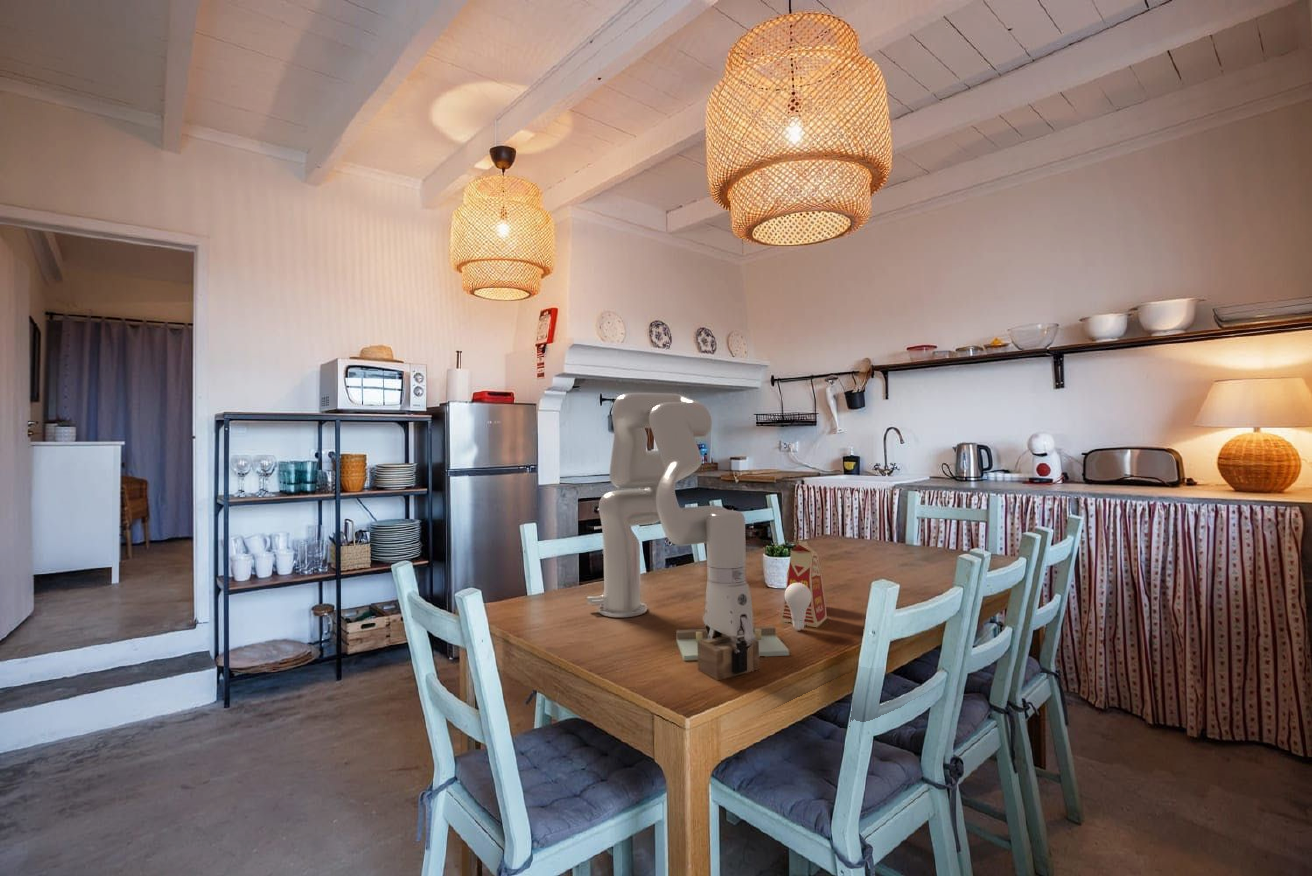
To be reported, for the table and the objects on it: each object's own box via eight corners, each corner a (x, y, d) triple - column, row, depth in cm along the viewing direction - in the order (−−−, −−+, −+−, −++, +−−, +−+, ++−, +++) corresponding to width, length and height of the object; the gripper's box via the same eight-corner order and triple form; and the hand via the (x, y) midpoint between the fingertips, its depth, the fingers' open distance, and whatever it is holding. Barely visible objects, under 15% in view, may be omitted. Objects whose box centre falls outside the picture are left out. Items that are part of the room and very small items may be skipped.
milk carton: (816, 627, 147) (815, 542, 147) (779, 621, 152) (778, 539, 152) (828, 617, 155) (826, 536, 155) (792, 612, 160) (791, 534, 159)
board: (683, 660, 127) (683, 646, 127) (676, 641, 139) (676, 627, 139) (789, 655, 129) (789, 640, 129) (773, 636, 141) (773, 623, 141)
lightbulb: (794, 624, 149) (793, 578, 149) (817, 630, 145) (816, 582, 145) (780, 630, 145) (779, 583, 145) (802, 636, 141) (802, 587, 141)
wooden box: (717, 680, 116) (716, 651, 116) (698, 669, 122) (697, 641, 122) (759, 669, 121) (758, 641, 121) (738, 659, 127) (738, 632, 127)
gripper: (770, 580, 116) (772, 676, 116) (716, 564, 131) (718, 649, 131) (738, 585, 112) (740, 685, 112) (686, 568, 127) (688, 656, 127)
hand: (728, 665), depth 122 cm, fingers closed on wooden box, 6 cm apart
